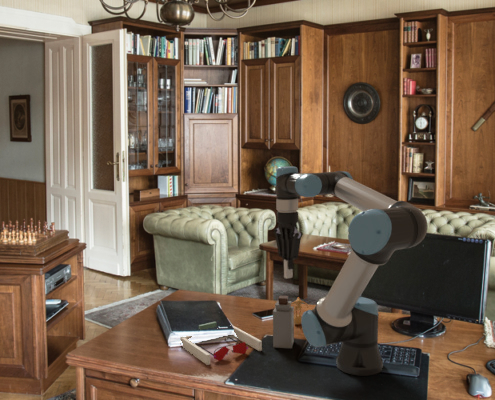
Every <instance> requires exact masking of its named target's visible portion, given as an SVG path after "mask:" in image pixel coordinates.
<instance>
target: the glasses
mask: <svg viewBox="0 0 495 400" xmlns="http://www.w3.org/2000/svg"><path fill="white" fill-rule="evenodd" d="M226 338H227V339H230V340H232V341H233V342H235V343H233V344H229V345H224V346H221V347H218V348H215V350H214V352H213V353H212V352H211V351H208V350H207V349H206V348H204V347H203V346H201V345H200V344H196V345H197V346H198V347H200V348H201V349H203V350H204V351H206V352H207V353H209V354H210V356H211V355H212V356H213V359H214V360H218V361H222V360H223V359H224V358H225V357H226V356H227V355H228V354H229V351H230V348H228V347H229V346H232V349H231V353H233V354H241V355H243V354H246V353H247V351H248V349H249V347H248V346H247V344H246V343H245V342H242V341H240V342H239V341H237V340H235V339H233V338H232V337H230V336H227V337H226Z"/></svg>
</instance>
